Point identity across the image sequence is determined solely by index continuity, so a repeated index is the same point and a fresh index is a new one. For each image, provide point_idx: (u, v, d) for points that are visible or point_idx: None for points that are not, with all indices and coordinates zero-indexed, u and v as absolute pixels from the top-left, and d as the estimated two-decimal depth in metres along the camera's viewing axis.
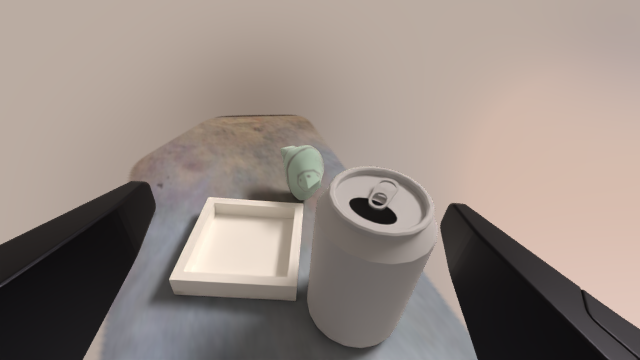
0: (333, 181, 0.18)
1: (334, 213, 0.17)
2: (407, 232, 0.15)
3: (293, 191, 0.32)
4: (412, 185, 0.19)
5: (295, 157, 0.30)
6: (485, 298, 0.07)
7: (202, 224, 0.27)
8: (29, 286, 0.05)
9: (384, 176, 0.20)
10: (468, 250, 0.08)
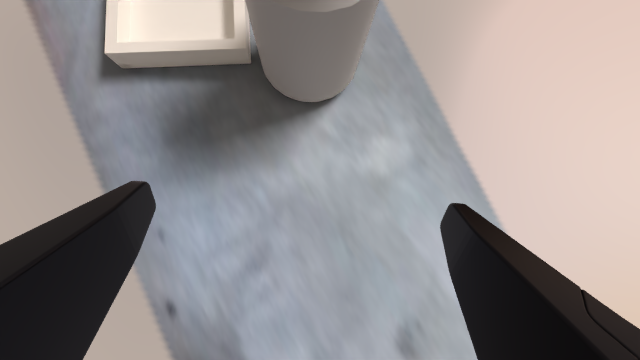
0: None
1: None
2: None
3: None
4: None
5: None
6: (485, 298, 0.07)
7: None
8: (29, 286, 0.05)
9: None
10: (468, 250, 0.08)
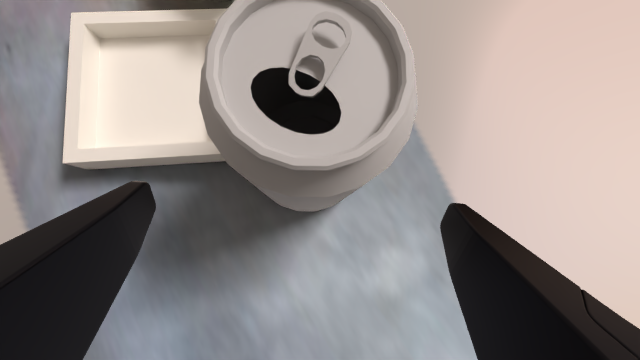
0: (213, 36, 0.09)
1: None
2: (352, 158, 0.08)
3: None
4: (382, 22, 0.09)
5: None
6: (485, 298, 0.07)
7: (78, 68, 0.18)
8: (29, 286, 0.05)
9: None
10: (468, 250, 0.08)
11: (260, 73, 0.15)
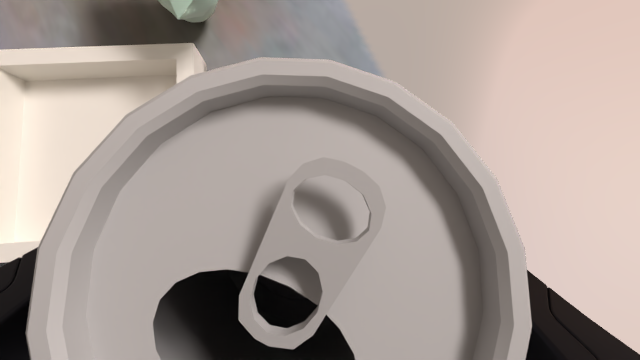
0: (55, 222, 0.04)
1: None
2: None
3: (167, 8, 0.14)
4: (448, 165, 0.04)
5: None
6: None
7: None
8: None
9: (331, 101, 0.04)
10: None
11: None
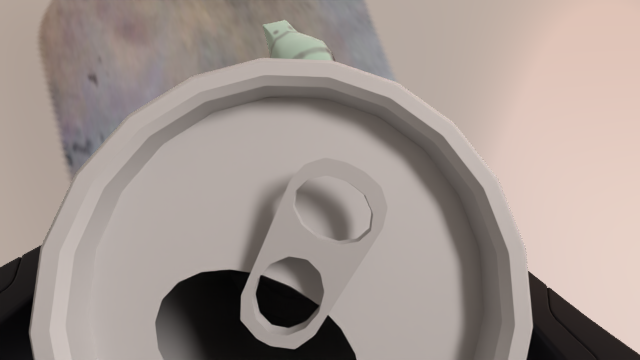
0: (58, 222, 0.04)
1: None
2: None
3: None
4: (450, 165, 0.04)
5: None
6: None
7: None
8: None
9: (332, 102, 0.04)
10: None
11: None
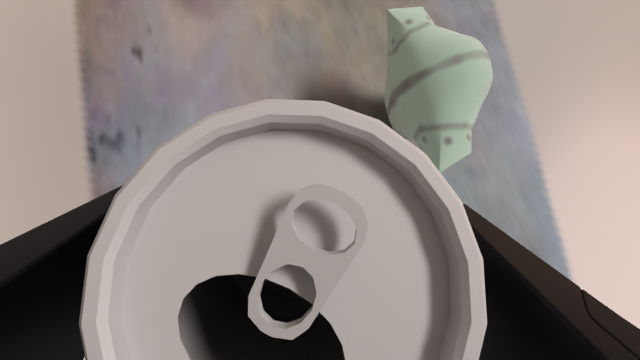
0: (102, 235, 0.04)
1: None
2: None
3: (395, 127, 0.16)
4: (422, 189, 0.05)
5: (428, 80, 0.12)
6: None
7: None
8: (29, 286, 0.05)
9: (325, 133, 0.05)
10: None
11: None
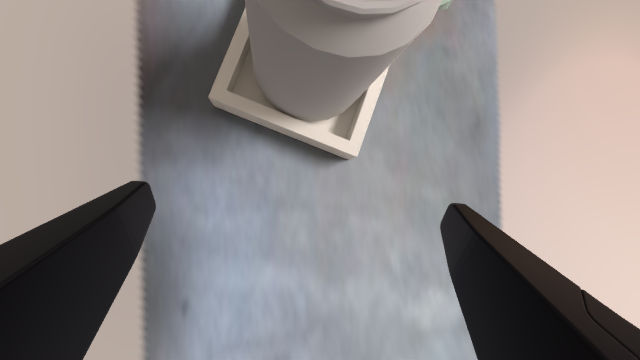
0: None
1: None
2: (385, 8, 0.09)
3: None
4: None
5: None
6: (485, 298, 0.07)
7: None
8: (29, 286, 0.05)
9: None
10: (468, 250, 0.08)
11: None
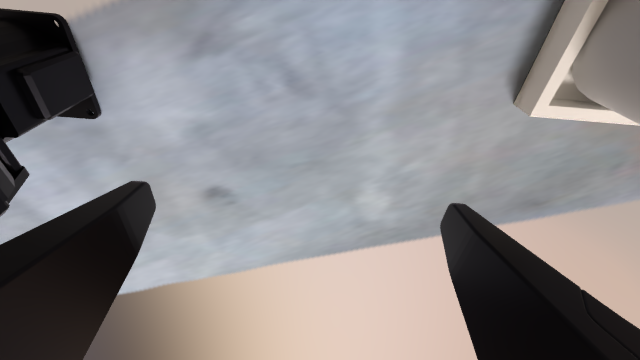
0: None
1: None
2: None
3: None
4: None
5: None
6: (485, 298, 0.07)
7: None
8: (29, 285, 0.05)
9: None
10: (468, 250, 0.08)
11: None
